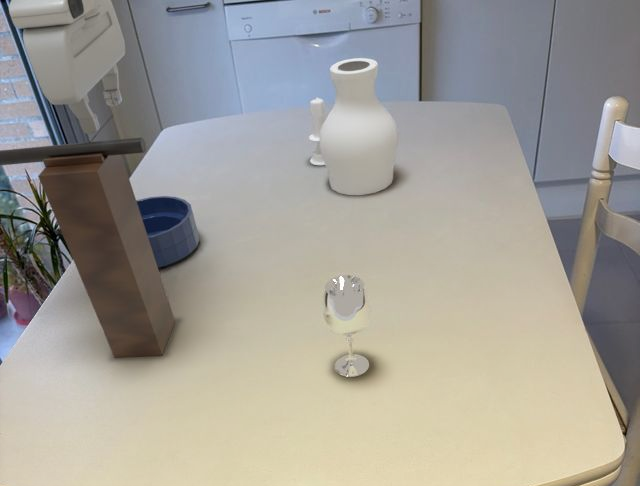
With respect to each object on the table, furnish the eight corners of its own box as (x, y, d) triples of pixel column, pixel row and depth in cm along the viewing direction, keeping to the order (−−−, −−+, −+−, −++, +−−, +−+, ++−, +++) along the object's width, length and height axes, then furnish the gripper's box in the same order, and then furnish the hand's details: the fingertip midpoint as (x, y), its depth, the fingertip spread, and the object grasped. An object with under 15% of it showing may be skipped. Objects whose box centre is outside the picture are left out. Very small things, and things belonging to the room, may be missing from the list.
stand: (114, 357, 91) (34, 168, 72) (130, 324, 96) (60, 140, 78) (162, 355, 90) (94, 163, 71) (175, 321, 95) (115, 135, 77)
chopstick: (-21, 167, 76) (-26, 153, 75) (-14, 166, 77) (-18, 151, 76) (142, 153, 73) (139, 137, 72) (147, 151, 75) (144, 136, 74)
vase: (313, 176, 126) (299, 64, 112) (379, 158, 129) (374, 46, 115) (340, 205, 116) (329, 85, 102) (412, 185, 119) (411, 65, 105)
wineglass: (382, 359, 84) (378, 278, 75) (359, 385, 81) (352, 304, 72) (344, 347, 86) (336, 268, 78) (321, 372, 83) (310, 292, 75)
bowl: (101, 275, 108) (88, 242, 103) (127, 230, 118) (116, 199, 114) (189, 270, 106) (180, 236, 101) (207, 225, 116) (199, 193, 112)
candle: (314, 154, 134) (307, 92, 125) (339, 154, 132) (333, 92, 124) (306, 165, 130) (299, 102, 122) (332, 166, 129) (326, 102, 120)
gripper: (69, -27, 81) (105, 92, 91) (1, 14, 67) (52, 150, 76) (117, -32, 80) (148, 88, 90) (59, 9, 66) (103, 146, 75)
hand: (104, 117), depth 83 cm, fingers open, 8 cm apart
